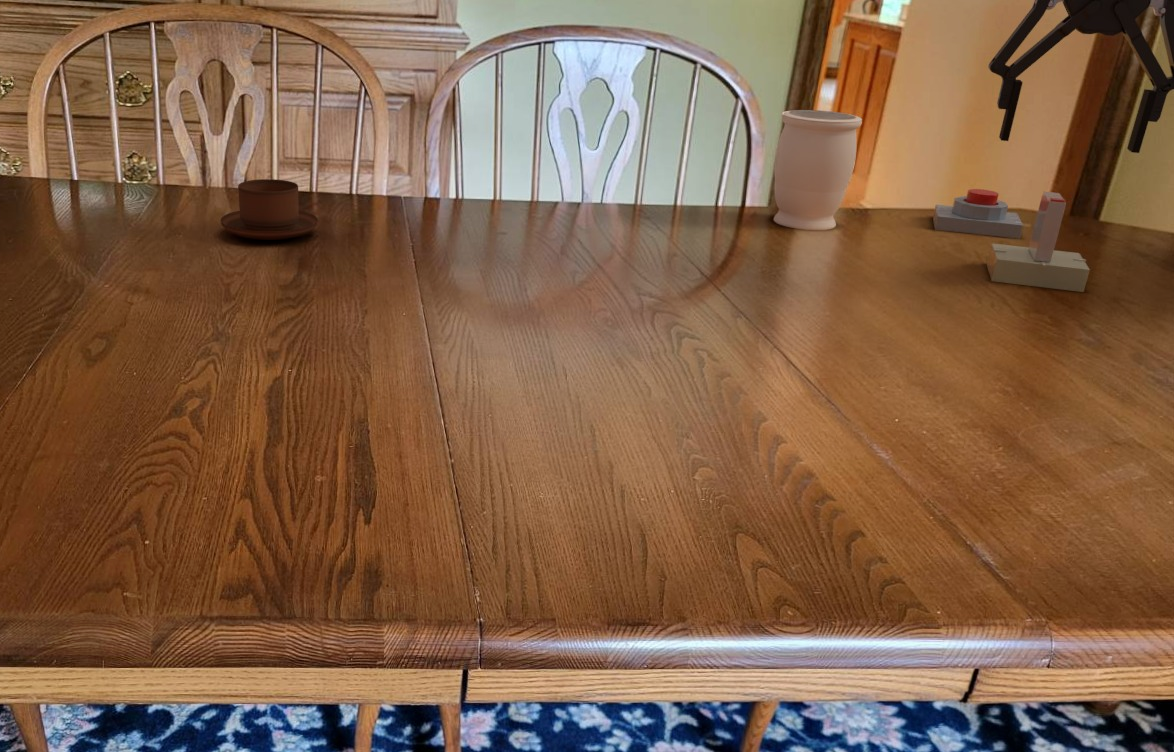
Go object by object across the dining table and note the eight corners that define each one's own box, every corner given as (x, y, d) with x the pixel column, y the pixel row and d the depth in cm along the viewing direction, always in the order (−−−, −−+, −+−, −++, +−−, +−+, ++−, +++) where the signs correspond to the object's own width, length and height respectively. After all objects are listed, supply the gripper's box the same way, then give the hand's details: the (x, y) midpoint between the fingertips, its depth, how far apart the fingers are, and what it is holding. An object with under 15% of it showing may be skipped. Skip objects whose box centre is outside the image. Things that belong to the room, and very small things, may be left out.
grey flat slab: (1028, 248, 135) (1043, 189, 132) (1044, 250, 134) (1060, 191, 131) (1033, 260, 130) (1050, 199, 127) (1050, 262, 129) (1067, 200, 126)
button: (994, 203, 156) (997, 190, 155) (996, 208, 152) (999, 196, 152) (964, 200, 157) (967, 187, 156) (966, 205, 154) (968, 193, 153)
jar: (787, 234, 149) (805, 120, 143) (752, 216, 158) (768, 108, 152) (857, 233, 152) (878, 121, 145) (819, 215, 161) (837, 109, 154)
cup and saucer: (205, 229, 140) (202, 180, 137) (289, 219, 146) (288, 172, 144) (248, 251, 131) (245, 200, 128) (335, 239, 138) (335, 190, 135)
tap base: (1072, 274, 136) (1079, 249, 135) (1085, 297, 128) (1093, 270, 126) (984, 264, 139) (990, 239, 138) (990, 285, 130) (997, 259, 129)
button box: (1013, 228, 158) (1020, 200, 157) (1019, 240, 151) (1026, 211, 150) (932, 219, 161) (938, 192, 160) (934, 231, 154) (940, 203, 153)
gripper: (999, -65, 117) (953, 139, 126) (1265, -53, 111) (1197, 161, 120) (993, -64, 124) (950, 129, 133) (1244, -53, 117) (1181, 150, 126)
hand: (1067, 145), depth 126 cm, fingers open, 13 cm apart
